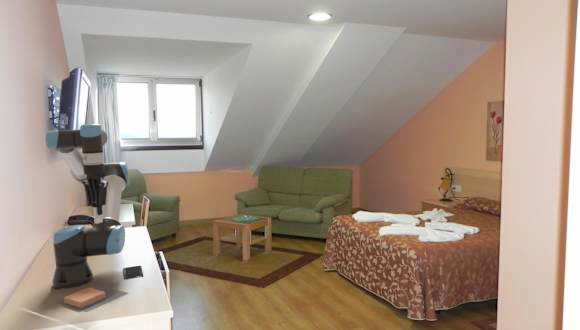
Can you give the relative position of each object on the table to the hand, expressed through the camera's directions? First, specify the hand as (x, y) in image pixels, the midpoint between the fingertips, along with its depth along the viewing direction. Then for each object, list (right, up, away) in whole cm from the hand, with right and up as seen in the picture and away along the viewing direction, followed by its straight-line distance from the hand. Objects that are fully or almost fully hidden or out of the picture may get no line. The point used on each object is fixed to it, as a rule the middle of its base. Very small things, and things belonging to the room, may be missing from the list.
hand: (98, 222), depth 169 cm
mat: (+2, -28, -9) cm, 29 cm away
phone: (+8, -25, +16) cm, 31 cm away
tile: (+3, -26, -8) cm, 27 cm away
